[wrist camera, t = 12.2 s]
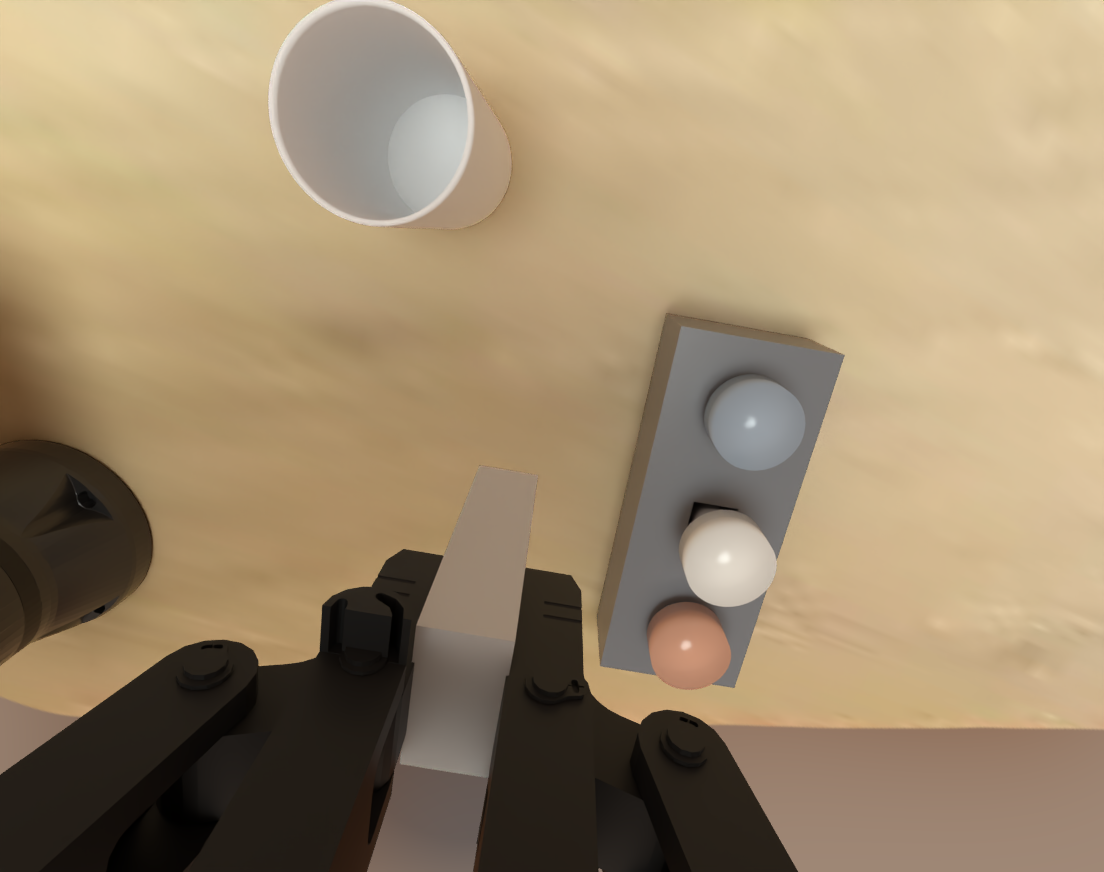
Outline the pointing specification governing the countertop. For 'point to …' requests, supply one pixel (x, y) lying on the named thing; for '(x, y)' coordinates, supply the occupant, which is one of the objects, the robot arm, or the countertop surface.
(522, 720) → the robot arm
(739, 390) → the pale blue knob
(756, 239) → the countertop surface
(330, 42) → the cup
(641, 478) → the key panel
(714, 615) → the terracotta key
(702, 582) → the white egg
